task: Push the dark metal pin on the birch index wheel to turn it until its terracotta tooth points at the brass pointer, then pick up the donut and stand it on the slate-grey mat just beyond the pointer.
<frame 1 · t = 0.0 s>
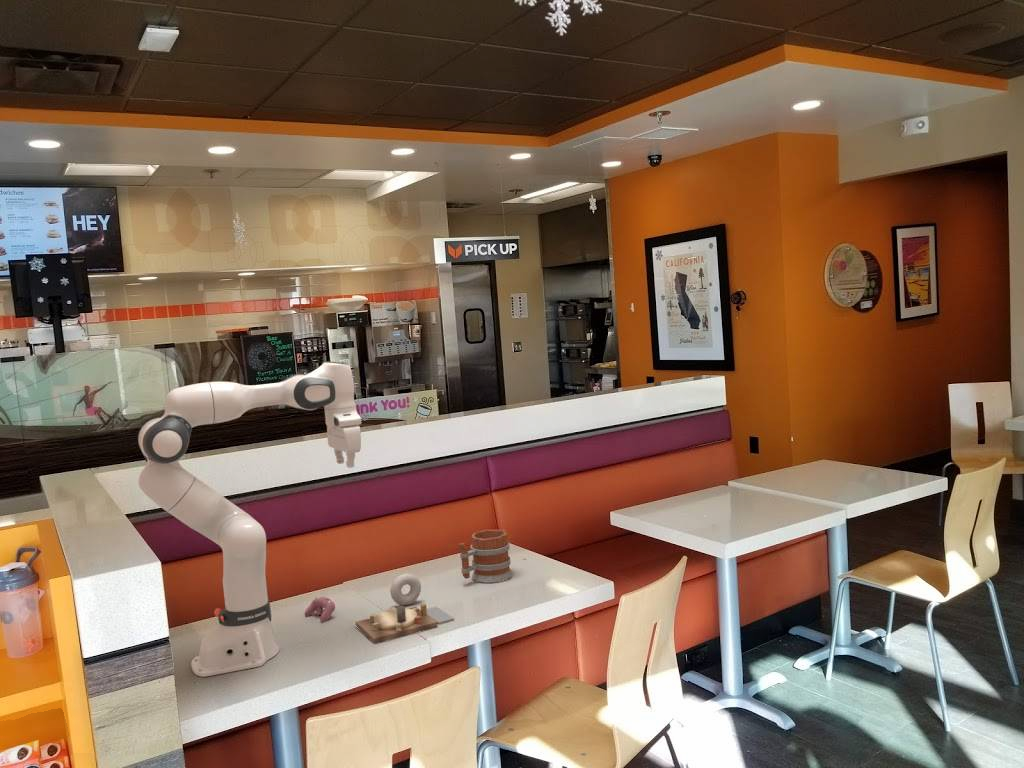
hand: (345, 465, 231), 48 cm above the table, tool pointing down, fingers open, 8 cm apart
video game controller: (321, 617, 246), on the table
wheel base: (396, 626, 233), on the table
index wheel: (395, 612, 233), point 4 cm above the table, hinge at 0.0°
donut: (407, 605, 252), on the table
donut mat: (437, 616, 240), on the table
mug: (486, 579, 272), on the table
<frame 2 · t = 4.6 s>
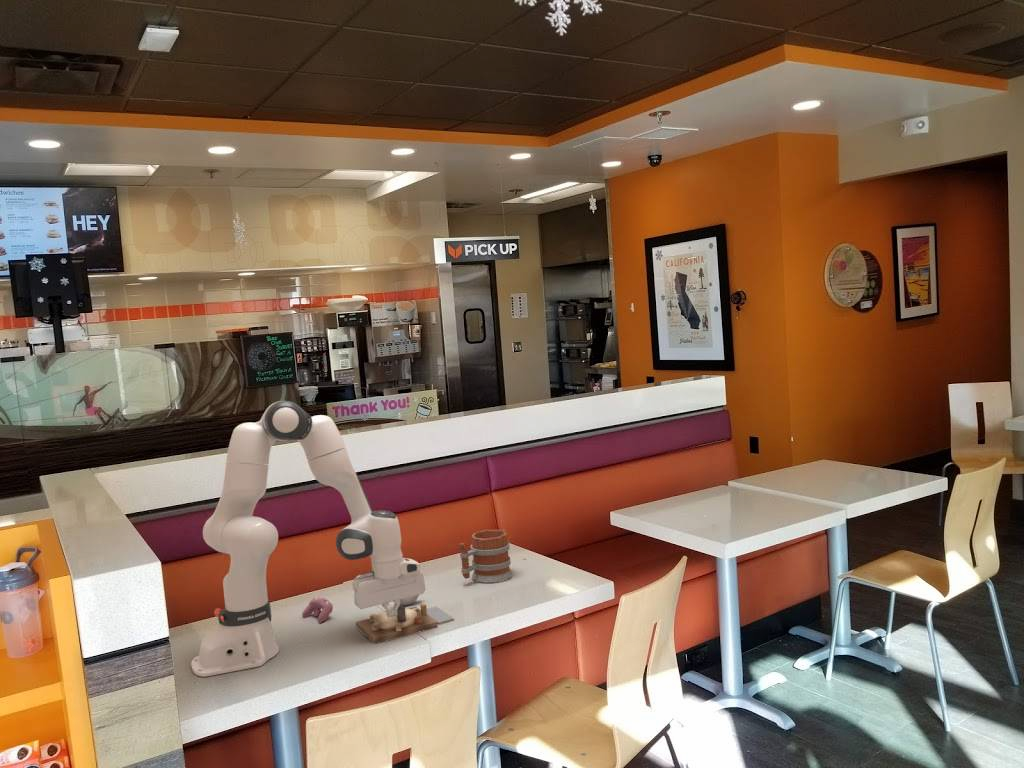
hand: (392, 616, 228), 5 cm above the table, tool pointing down, fingers closed, pressing on index wheel
index wheel: (395, 612, 233), point 4 cm above the table, hinge at 0.0°, touching gripper
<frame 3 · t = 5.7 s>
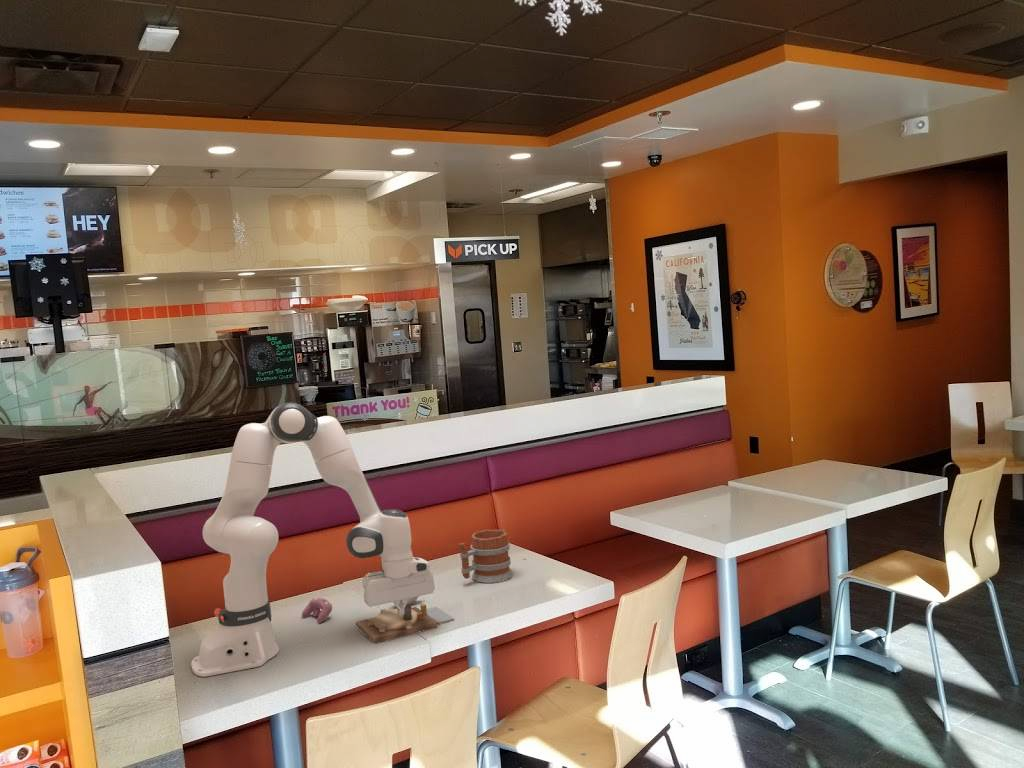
hand: (401, 614, 229), 5 cm above the table, tool pointing down, fingers closed, pressing on index wheel
index wheel: (395, 612, 233), point 4 cm above the table, hinge at 23.3°, touching gripper
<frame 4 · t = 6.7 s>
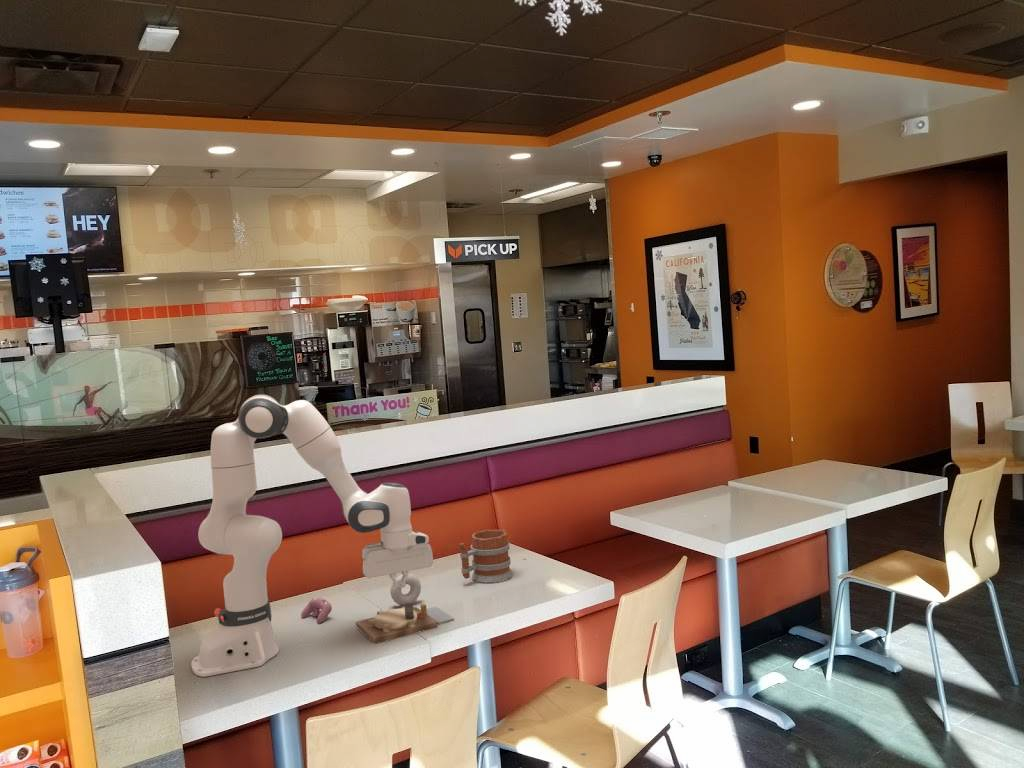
hand: (399, 587, 229), 13 cm above the table, tool pointing down, fingers closed
index wheel: (395, 612, 233), point 4 cm above the table, hinge at 32.9°
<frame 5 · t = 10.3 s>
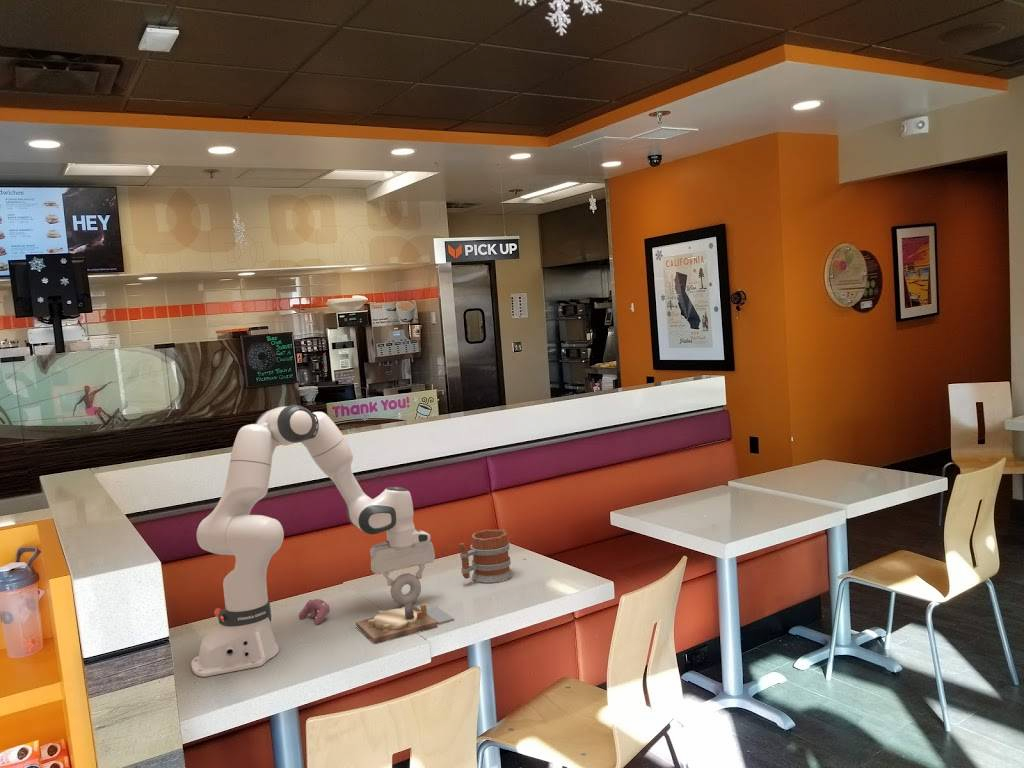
hand: (405, 581, 251), 7 cm above the table, tool pointing down, fingers closed on donut, 8 cm apart
donut: (407, 605, 252), on the table, touching gripper
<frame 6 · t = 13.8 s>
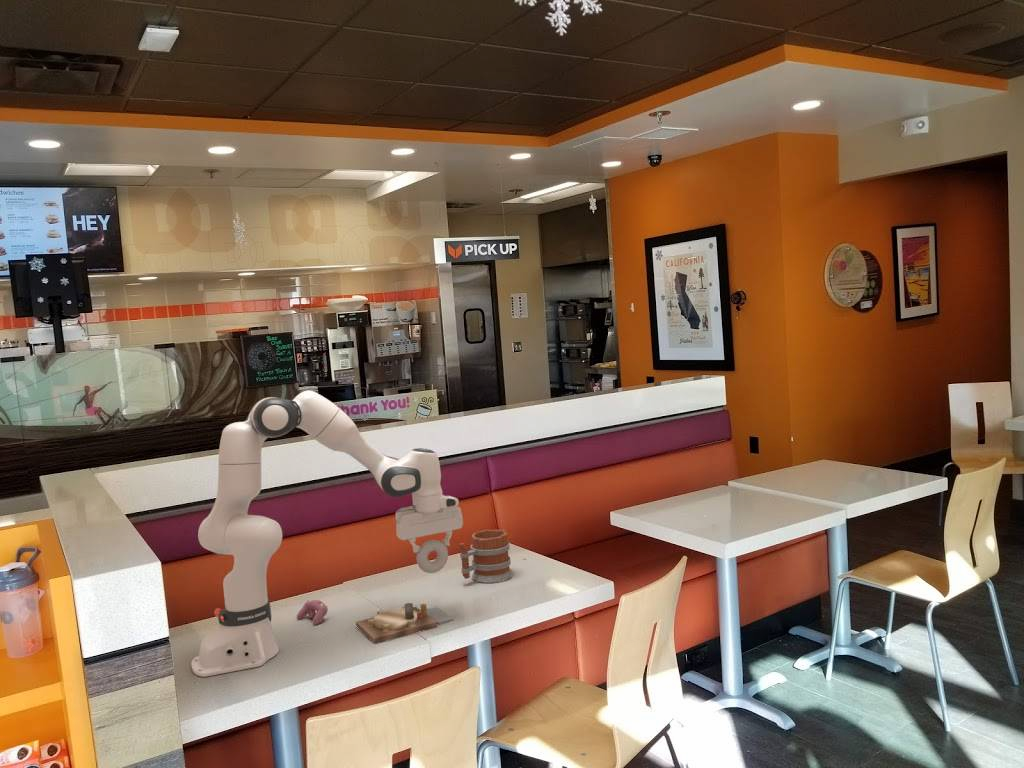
hand: (431, 548, 238), 20 cm above the table, tool pointing down, fingers closed on donut, 8 cm apart
donut: (433, 573, 239), point 13 cm above the table, touching gripper
when the fingers open (10 cm above the table, at t = 17.0 s): donut stays where it is, resting on donut mat, wheel base.
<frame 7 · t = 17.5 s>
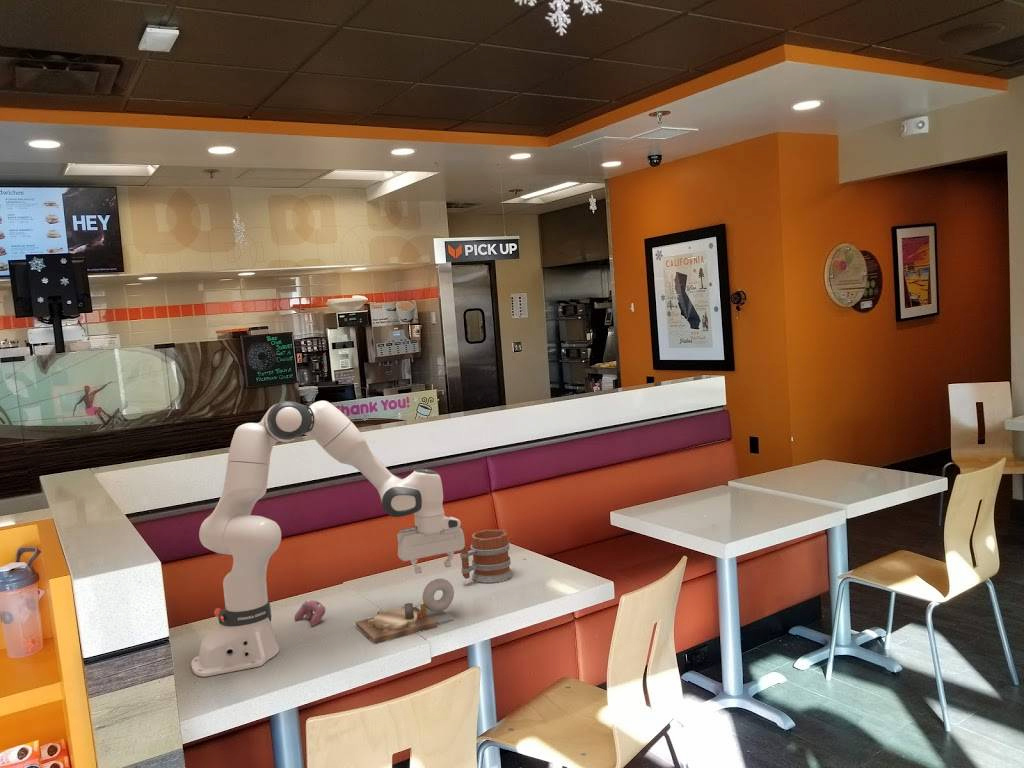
hand: (433, 569, 238), 14 cm above the table, tool pointing down, fingers open, 8 cm apart
donut: (434, 612, 239), point 1 cm above the table, touching donut mat, wheel base
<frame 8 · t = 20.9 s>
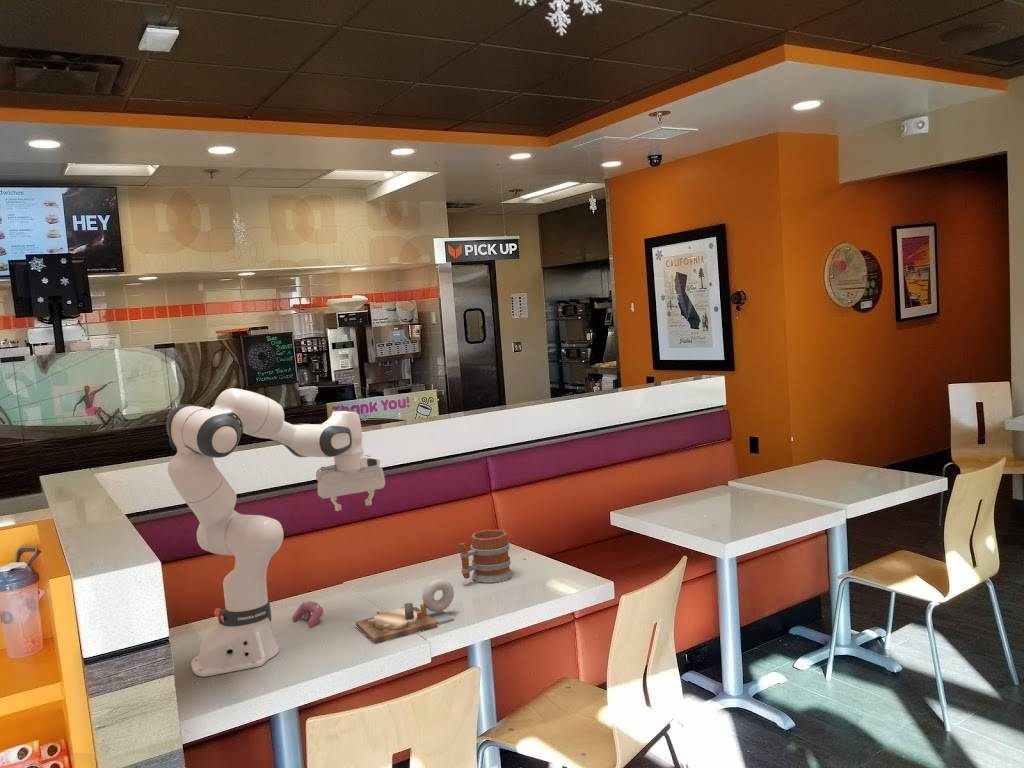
hand: (353, 507, 243), 33 cm above the table, tool pointing down, fingers open, 8 cm apart
at the end: index wheel at +33° (first picture: +0°); donut inside the target area (1.1 cm from its centre), point 1.3 cm above the table; donut tilted 18° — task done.
